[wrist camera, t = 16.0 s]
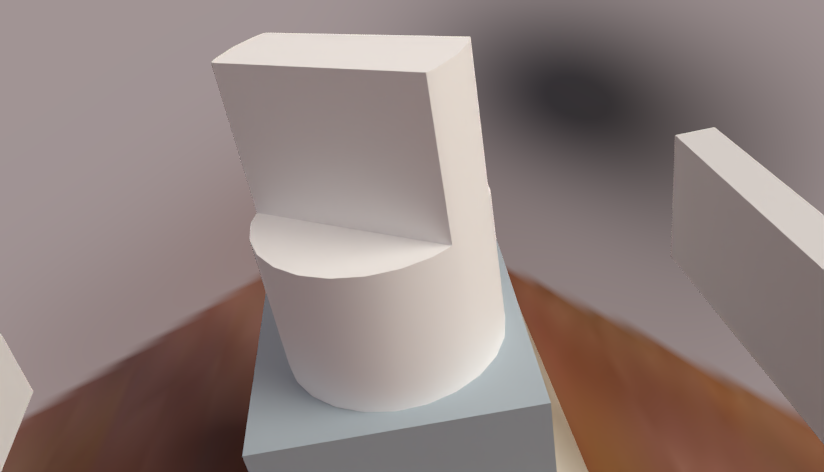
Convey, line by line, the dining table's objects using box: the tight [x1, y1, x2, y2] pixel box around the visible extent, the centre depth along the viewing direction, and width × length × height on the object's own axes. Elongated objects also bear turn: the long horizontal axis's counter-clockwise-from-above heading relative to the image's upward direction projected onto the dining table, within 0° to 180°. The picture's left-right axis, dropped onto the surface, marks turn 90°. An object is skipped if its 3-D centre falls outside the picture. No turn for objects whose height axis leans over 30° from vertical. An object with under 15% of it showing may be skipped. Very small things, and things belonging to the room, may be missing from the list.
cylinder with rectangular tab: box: [211, 33, 505, 412], centre depth 28 cm, size 9×9×12 cm
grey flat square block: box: [242, 239, 557, 472], centre depth 33 cm, size 11×11×5 cm
